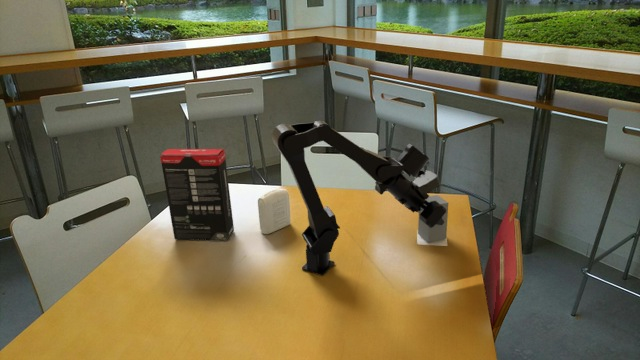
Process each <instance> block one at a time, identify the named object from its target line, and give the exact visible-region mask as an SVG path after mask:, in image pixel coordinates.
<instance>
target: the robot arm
mask: <svg viewBox="0 0 640 360" xmlns="http://www.w3.org/2000/svg"><path fill="white" fill-rule="evenodd" d="M271 139H272V142H273V144H274V145H275V147H276V148H277V150H278V151H279V153H280V154H281V155H282V157H283V158H284V160H285V161H286V162H287V164H288V167H289V169H290V171H291V174H292V176H293V178H294V181H295V183H296V185H297V188H298V190H299V193H300V195H301V198H302V200H303V202H304V204H305V207H306V210H307V219H308V220H307V221H308V226H307V227H306V228H305V230H304V231H303V232H302V233H301V236H302V238H303V240H304V241H305V242H306V246H305V247H306V248H305V259H306V263H305V264H303V266H302V267H301V269H302V271H307V272H309V273H314V274H317V275H320V276H323V275H325V274H326V273H327V272H328V271H329V270H330V269H331V268H332V267H333V266H335V263H336V262H335V261H334V260H330V259H331V257H330V256H331V255H330V253H331V252H332V250H333V247H334V245H335V241H336V240H337V239H338V237H339V235H340V232H339V229H341V226H340V225H339V224H338V223H337V219H336V215H335V214H334V212H333V211H332V210H331V209H330V207H329V206H328V205H326V206H325V207H324V205H323V203H322V200H321V198H320V195H319V193H318V190H317V188H316V185H315V182H314V180H313V178H312V175H311V173H310V170H309V168H308V166H307V163H306V157H305V156H306V155H305V149H307V148H310V147H311V146H313V145H316V144H317V143H321V142H324V143H325V144H327V145H329V146H331V147H332V148H333V149H334V150H336V151H337V152H339V153H341V154H343V155H344V156H346V157H347V158H348V159H350V160H352V161H353V162H355V164H357V165H358V167H360V168H361V170H363V171H364V172H365V173H366V174H367V175H368V176H369V177H371V178H372V179H373V180H374V181H375V186H374V190H375V191H376V192H377V193H379V195H383V194H385V192H386V191H387V192H388V193H390V194H391V195H392V196H393V197H394V199H395V201H397V202H398V203H400V204H401V205H402V206H404V207H405V208H406V209H407V210H409V211H411V212H412V213H418V214H419V211H420V210H421V208H423V209H424V210H423V211H422V212H421V213H420V220H422V221H423V222H424V223H425V224H426V225H428V226H429V227H430V228H432V227H434V226H435V224H437V225H443V224H444V221H443V219H442V216H443V215H444V214H445V213H446V210H447V209H446V208H444V207H443V206H442V205H441V204H439V203H438V202H437V201H431V202H428V201H426V200H425V199H427V198H428V197H429V196H430V195H429V194H430V193H432V191H434V190H436V189H438V188H440V187H441V185H442V184H441V182H440V179H439V177H438V175H437V174H436V173H434V172H433V171H431V170H427V169H426V170H425V171H424V170H423V168H424V167H425V166H426V164H427V163H429V161H430V158H429V157H428V155H426V154H425V153H423V152H422V151H421V150H419V149H418V148H417V147H415V145H413V144H411V143H408V144H407V145H406V147H405V148H404V150H403V151H402V152H401V154H399V156H397V158H394V157H393V156H382V155H381V154H379V153H376V152H374V151H372V150H369V149H365V148H363V147H361V146H359V145H358V144H356V143H355V142H353V141H352V140H351V139H349V138H347V137H345V136H344V135H343V134H341V133H340V132H338V131H337V130H335V129H334V128H332V127H331V126H330V125H329V124H328V123H326V121H323V120H320V119H319V120H315V121H311V122H301V123H300V122H299V123H293V124H288V123H280V124H278V125H277V126H275V128H273V130H272V132H271ZM404 174H406V175H407V177H409V178H410V177H411V176H412V177H413V179H414V180H411V179H409V178H407V177H406V176H405V175H404ZM424 204H425V205H427V206H425V205H424ZM420 207H421V208H420Z"/></svg>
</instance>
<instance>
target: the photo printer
mask: <svg viewBox="0 0 640 360" xmlns="http://www.w3.org/2000/svg"><path fill="white" fill-rule="evenodd" d="M290 203H291V202H290V194H289V192H288V190H287V189H285V188H275V189H272V190H269V191H267V192H265V193H264V194H262V195H261V196H260V197H259V198H258V199H257V207H258V208H257V209H258V220H259V229H260V232H261V233H262V234H264V235H268V234H272V233H274V232H276V231H279V230H281V229H283V228H286V227H288V226H290V225H291V224H292V223H291V220H292V219H291V205H290Z"/></svg>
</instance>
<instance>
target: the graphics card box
mask: <svg viewBox="0 0 640 360" xmlns="http://www.w3.org/2000/svg"><path fill="white" fill-rule="evenodd" d="M159 158H160V163H161V169H162V174H163V179H164V184H165V190H166V191H165V192H166V195H167V203H168V208H169V214H170V221H171V225H172V227H171V228H172V232H173V237H174V240H179V241H180V240H182V241H185V240H186V241H187V240H188V241H210V242H212V241H213V242H219V241H220V242H228V241H229V240H230V239H231V237H232V236H233V234H234V232H235V227H234V218H233V211H232V210H233V209H232V203H231V196H230V195H231V194H230V186H229V178H228V168H227V160H226V159H227V158H226V151H225V148H168V149H166V150H164V151H163V152H162V153H160V155H159Z"/></svg>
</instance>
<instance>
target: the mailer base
mask: <svg viewBox="0 0 640 360" xmlns="http://www.w3.org/2000/svg"><path fill="white" fill-rule="evenodd" d="M416 236H417V237H416V238H417V239H416V240H417V241H416V244H417V245H418V246H419V245H422V246H423V245H424V246H439V247H440V246H441V247H442V246H443V247H448V241H447V240H448V239H447V236H446V239H444V240H439V241H435V242H430V243H428V242H427V241H425V240H424V239H423V238H422V237H421V236H420V235H419V234H418V229H417V231H416Z"/></svg>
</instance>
